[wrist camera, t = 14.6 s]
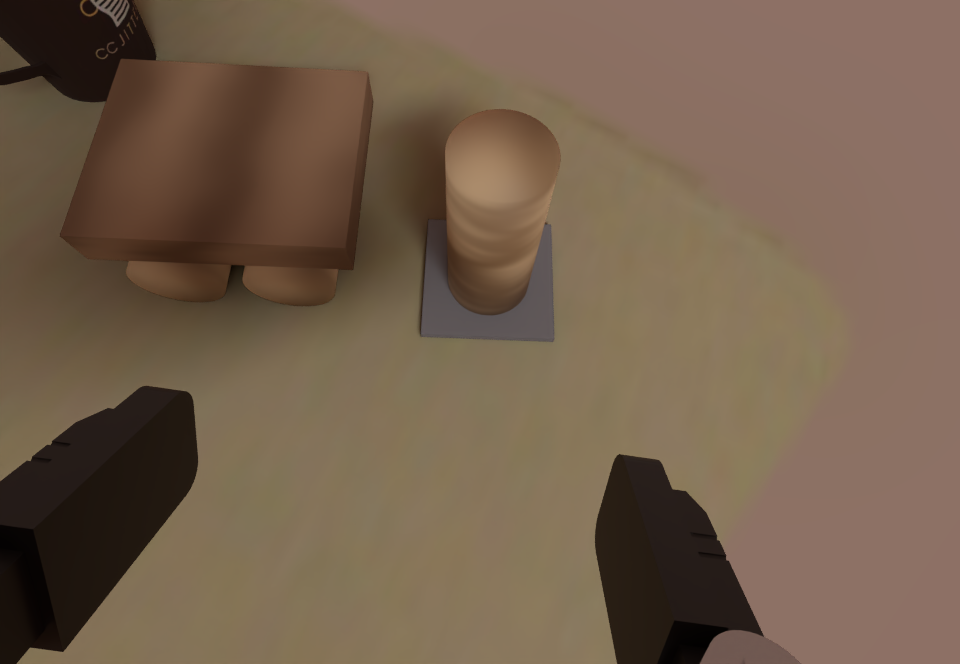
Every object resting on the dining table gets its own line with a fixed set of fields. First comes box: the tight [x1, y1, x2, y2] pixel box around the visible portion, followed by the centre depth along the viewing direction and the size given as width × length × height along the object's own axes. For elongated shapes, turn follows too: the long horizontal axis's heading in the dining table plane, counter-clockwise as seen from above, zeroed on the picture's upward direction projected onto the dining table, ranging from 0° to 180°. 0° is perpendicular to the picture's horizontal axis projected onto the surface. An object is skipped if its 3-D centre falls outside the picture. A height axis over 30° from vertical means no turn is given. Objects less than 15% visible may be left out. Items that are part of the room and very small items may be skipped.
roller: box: [445, 109, 561, 315], centre depth 26 cm, size 4×4×10 cm
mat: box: [421, 219, 554, 342], centre depth 31 cm, size 7×7×1 cm
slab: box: [60, 59, 373, 306], centre depth 29 cm, size 12×10×6 cm
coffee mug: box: [0, 0, 156, 102], centre depth 30 cm, size 12×9×10 cm
